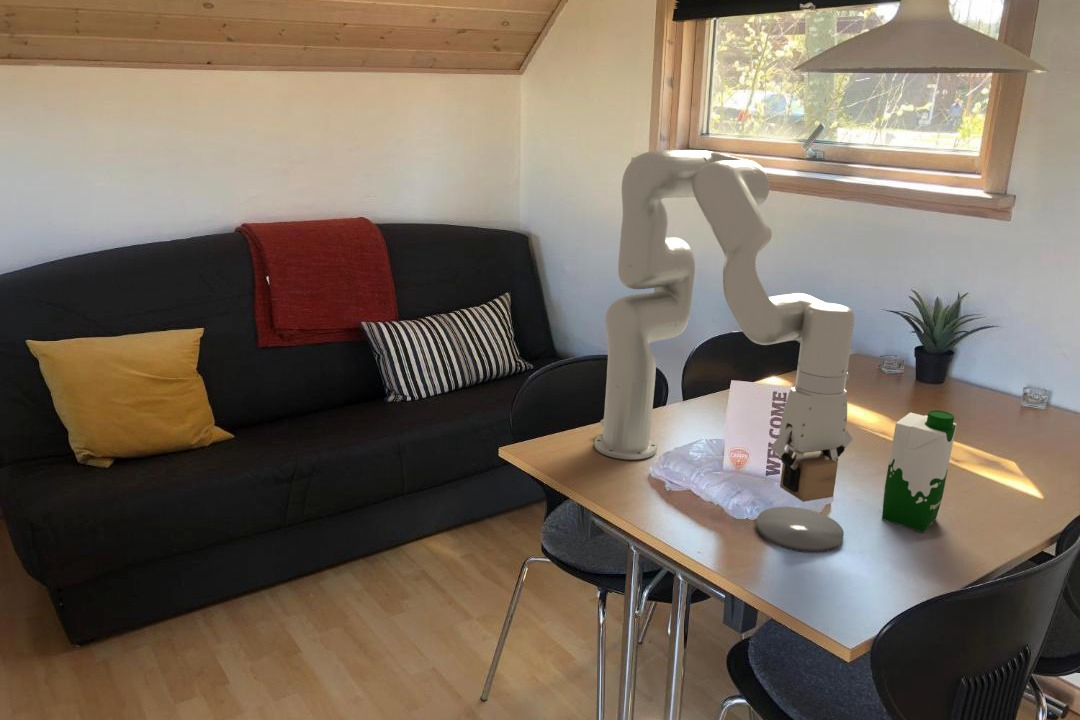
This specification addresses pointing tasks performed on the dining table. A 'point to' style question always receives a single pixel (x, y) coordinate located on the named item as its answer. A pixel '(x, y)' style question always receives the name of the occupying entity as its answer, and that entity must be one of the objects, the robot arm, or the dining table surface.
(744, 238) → the robot arm
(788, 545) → the slate plate
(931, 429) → the soya milk
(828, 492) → the walnut cube
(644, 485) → the dining table surface
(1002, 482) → the dining table surface
